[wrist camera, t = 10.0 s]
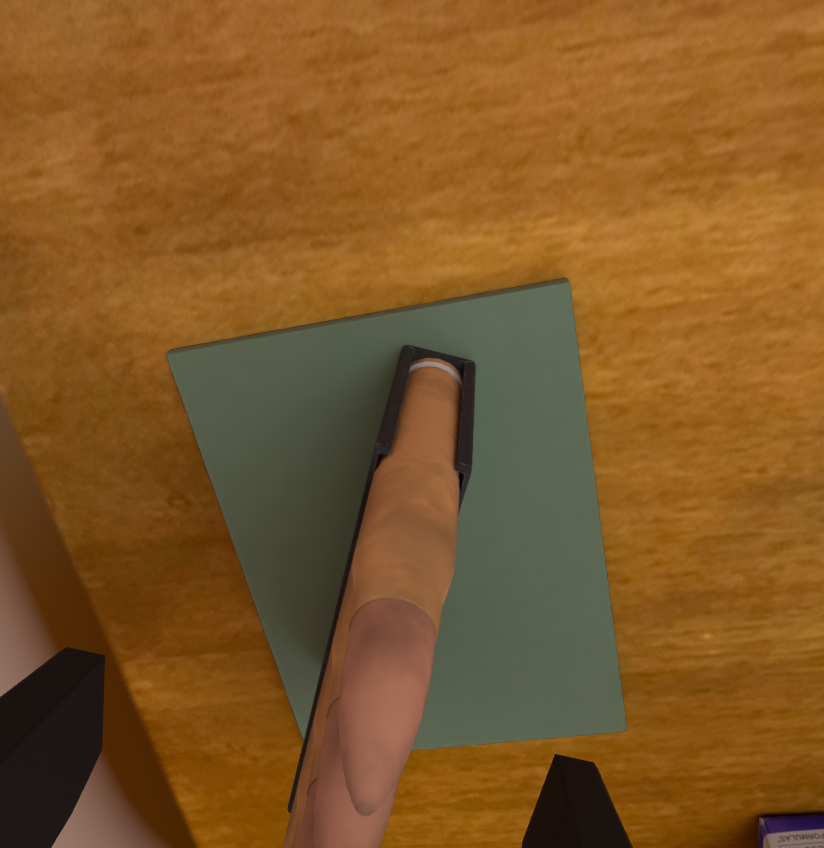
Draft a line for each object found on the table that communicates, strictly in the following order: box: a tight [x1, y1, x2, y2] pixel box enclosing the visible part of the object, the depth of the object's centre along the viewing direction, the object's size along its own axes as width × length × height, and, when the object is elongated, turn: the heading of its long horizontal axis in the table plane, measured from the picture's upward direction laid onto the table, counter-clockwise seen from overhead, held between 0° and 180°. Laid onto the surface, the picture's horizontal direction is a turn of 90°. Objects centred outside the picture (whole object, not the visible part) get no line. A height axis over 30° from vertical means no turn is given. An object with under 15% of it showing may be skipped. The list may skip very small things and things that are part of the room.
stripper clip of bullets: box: [283, 344, 476, 848], centre depth 16 cm, size 11×2×12 cm, turn 167°
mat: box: [166, 278, 627, 751], centre depth 21 cm, size 14×10×1 cm
